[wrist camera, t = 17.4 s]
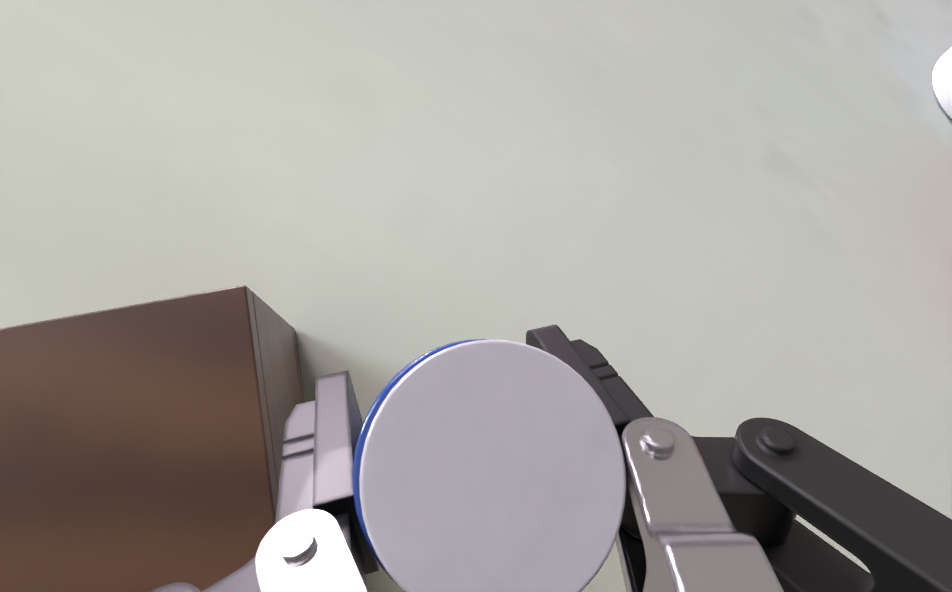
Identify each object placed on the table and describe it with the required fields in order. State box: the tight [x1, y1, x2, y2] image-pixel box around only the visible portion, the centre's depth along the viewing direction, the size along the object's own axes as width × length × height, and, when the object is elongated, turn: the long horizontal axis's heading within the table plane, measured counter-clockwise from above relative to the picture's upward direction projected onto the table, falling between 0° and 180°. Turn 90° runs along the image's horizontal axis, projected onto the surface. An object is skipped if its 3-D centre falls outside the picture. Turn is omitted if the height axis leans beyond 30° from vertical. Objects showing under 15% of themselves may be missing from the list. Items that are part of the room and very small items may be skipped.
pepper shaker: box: [352, 339, 626, 592], centre depth 11 cm, size 4×4×9 cm
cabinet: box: [0, 285, 305, 592], centre depth 21 cm, size 14×13×9 cm
